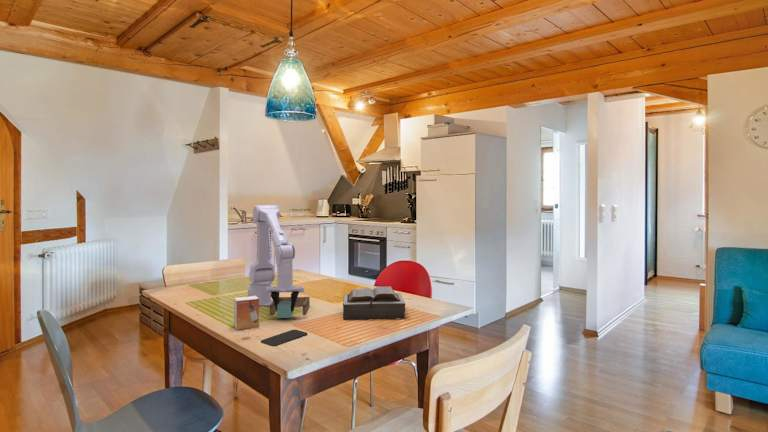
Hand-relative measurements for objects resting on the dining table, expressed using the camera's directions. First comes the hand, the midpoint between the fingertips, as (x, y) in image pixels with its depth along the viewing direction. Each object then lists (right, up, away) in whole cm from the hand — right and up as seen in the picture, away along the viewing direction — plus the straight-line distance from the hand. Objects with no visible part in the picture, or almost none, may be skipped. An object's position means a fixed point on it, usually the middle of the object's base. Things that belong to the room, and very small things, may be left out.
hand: (285, 310), depth 167 cm
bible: (+34, -3, +9) cm, 35 cm away
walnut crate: (-1, -2, +12) cm, 12 cm away
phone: (+5, -5, -23) cm, 24 cm away
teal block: (0, -2, 0) cm, 2 cm away
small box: (-12, -4, -10) cm, 16 cm away
